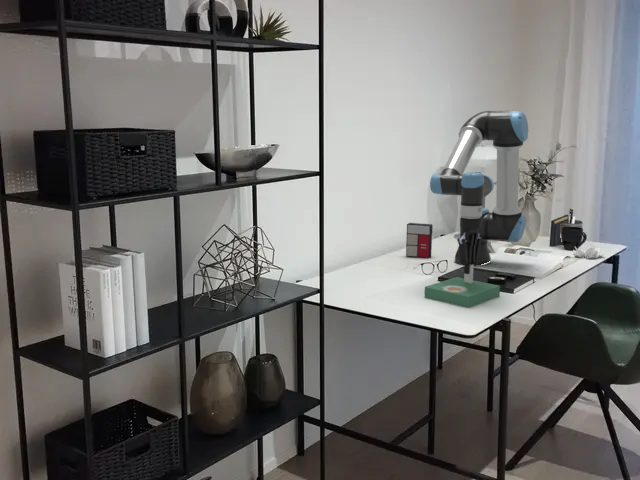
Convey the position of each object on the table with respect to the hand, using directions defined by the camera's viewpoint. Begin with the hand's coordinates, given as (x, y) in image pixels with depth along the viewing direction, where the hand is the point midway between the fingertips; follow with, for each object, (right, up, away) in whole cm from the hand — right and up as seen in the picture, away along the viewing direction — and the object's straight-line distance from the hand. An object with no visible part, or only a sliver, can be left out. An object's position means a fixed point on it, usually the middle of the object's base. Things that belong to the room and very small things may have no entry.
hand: (468, 282), depth 237 cm
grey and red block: (-8, +7, +63) cm, 64 cm away
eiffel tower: (+22, +9, +72) cm, 76 cm away
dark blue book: (+63, +11, +84) cm, 105 cm away
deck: (-3, -5, -2) cm, 6 cm away
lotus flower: (+64, +5, +53) cm, 83 cm away
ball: (-6, -4, -6) cm, 10 cm away
